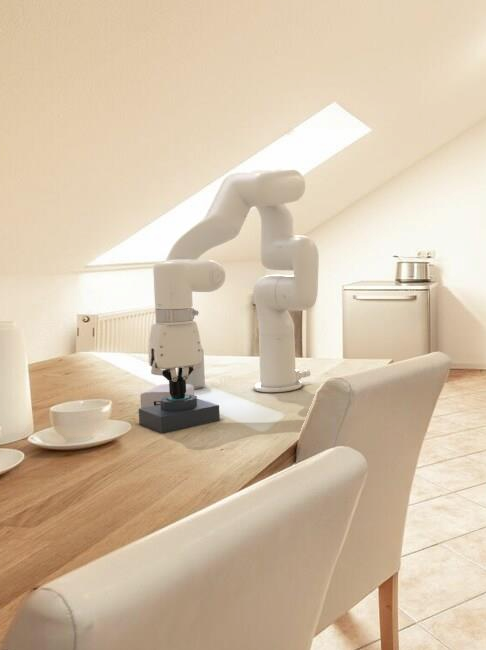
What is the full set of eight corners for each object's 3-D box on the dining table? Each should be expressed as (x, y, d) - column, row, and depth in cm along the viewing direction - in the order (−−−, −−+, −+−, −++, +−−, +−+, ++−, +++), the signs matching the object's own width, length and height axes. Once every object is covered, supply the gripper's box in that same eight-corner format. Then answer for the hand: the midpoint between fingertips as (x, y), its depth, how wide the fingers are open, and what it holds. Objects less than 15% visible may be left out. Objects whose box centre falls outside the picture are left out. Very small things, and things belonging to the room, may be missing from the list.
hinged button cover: (203, 396, 166) (180, 411, 151) (167, 397, 166) (141, 411, 151) (202, 378, 166) (179, 391, 151) (166, 379, 165) (140, 392, 150)
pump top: (184, 402, 145) (183, 394, 144) (193, 405, 142) (193, 397, 142) (164, 406, 141) (164, 397, 141) (174, 409, 139) (173, 400, 138)
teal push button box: (196, 412, 150) (195, 389, 150) (219, 420, 144) (218, 396, 143) (139, 424, 140) (137, 399, 140) (161, 433, 134) (160, 407, 133)
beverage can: (209, 387, 178) (208, 345, 176) (188, 391, 172) (186, 348, 171) (196, 384, 181) (194, 343, 180) (175, 388, 176) (173, 346, 175)
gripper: (198, 313, 148) (202, 389, 149) (131, 318, 136) (135, 401, 138) (215, 315, 143) (218, 394, 145) (147, 320, 131) (151, 406, 133)
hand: (178, 397), depth 141 cm, fingers closed
